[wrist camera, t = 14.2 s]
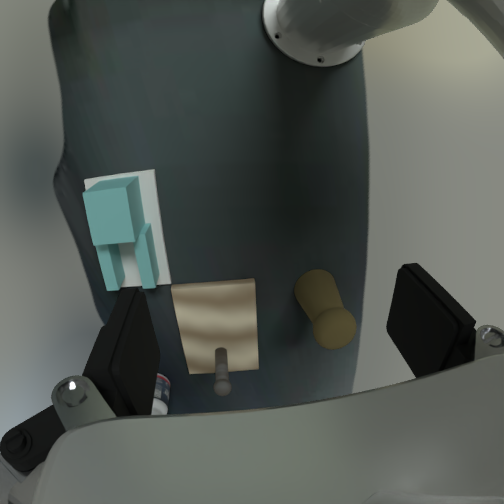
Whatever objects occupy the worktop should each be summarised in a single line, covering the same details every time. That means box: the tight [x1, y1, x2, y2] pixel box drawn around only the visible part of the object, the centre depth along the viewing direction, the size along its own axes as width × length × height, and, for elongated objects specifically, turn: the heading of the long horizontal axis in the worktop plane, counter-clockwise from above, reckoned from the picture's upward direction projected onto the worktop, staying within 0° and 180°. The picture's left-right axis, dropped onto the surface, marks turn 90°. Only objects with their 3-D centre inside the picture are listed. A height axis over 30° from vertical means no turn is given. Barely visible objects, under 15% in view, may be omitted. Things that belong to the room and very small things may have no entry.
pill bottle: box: [151, 373, 170, 415], centre depth 46 cm, size 5×5×9 cm
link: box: [83, 176, 160, 291], centre depth 36 cm, size 13×6×6 cm, turn 2°
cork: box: [294, 269, 356, 350], centre depth 40 cm, size 6×6×11 cm
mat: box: [84, 169, 171, 287], centre depth 39 cm, size 15×9×1 cm, turn 2°
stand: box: [171, 278, 259, 396], centre depth 42 cm, size 16×11×10 cm
